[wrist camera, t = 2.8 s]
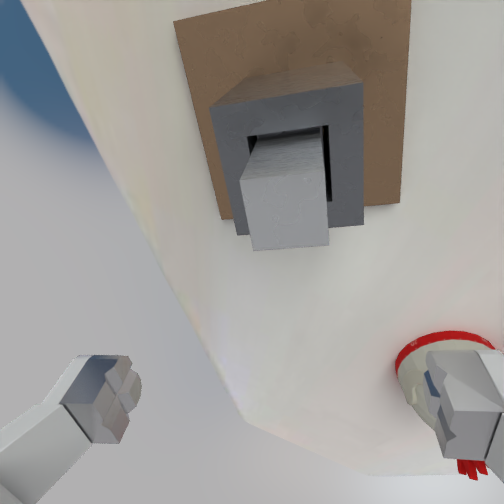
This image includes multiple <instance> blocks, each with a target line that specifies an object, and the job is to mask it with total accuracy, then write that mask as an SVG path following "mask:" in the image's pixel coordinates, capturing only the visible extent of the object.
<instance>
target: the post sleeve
mask: <svg viewBox="0 0 504 504" xmlns="http://www.w3.org/2000/svg"><path fill="white" fill-rule="evenodd" d="M410 17H411V0H267V1H262V2H258V3H253V4H249V5H244V6H240V7H235V8H231V9H227V10H222V11H218V12H213V13H209V14H204V15H200V16H195V17H191V18H186V19H182V20H177V21H173V23H174V27H175V31H176V35H177V39H178V43H179V48H180V52H181V56H182V60H183V64H184V68H185V72H186V76H187V80H188V84H189V88H190V92H191V97H192V101H193V105H194V109H195V113H196V117H197V121H198V125H199V129H200V133H201V137H202V142H203V146H204V150H205V154H206V158H207V162H208V166H209V170H210V174H211V178H212V182H213V186H214V191H215V195H216V199H217V203H218V207H219V211H220V215H221V219H222V220H224V219H234V223H235V227H236V232H237V235H249V234H250V231H249V226H248V221H247V216H246V211H245V206H244V201H243V196H242V191H241V186H240V181H239V180H240V178H241V176H242V174H243V171H244V169H245V167H246V165H247V162H248V160H249V158H250V156H251V153H252V151H253V149H254V147H255V144H256V142H257V135H261V134H268V133H275V132H282V131H289V130H296V129H303V128H310V127H316V126H322V135H323V150H324V166H325V182H326V201H327V217H328V228H333V227H345V226H357V225H364V206H373V205H383V204H394V203H400V189H401V171H402V154H403V137H404V120H405V103H406V85H407V68H408V51H409V34H410Z"/></svg>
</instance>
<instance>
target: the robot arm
mask: <svg viewBox="0 0 504 504" xmlns="http://www.w3.org/2000/svg"><path fill="white" fill-rule="evenodd" d="M425 362H426V364H427V367H428V370H427V371H426V372H425V373H424V376H423V389H424V396H425V401H426V404H427V408H428V411H429V413H430V414H432V415H433V416H434V417H435V418H436V423H435V429H434V430H435V433H436V436H437V439H438V442H439V445H440V448H441V451H442V454H443V458H450V459H464V460H478V461H485V464H486V465H487V466H488V467H489V468H490V469H491V470H492V471H493V472H494V473H495V474H496V475H497V476H498V478H499V479H500V480H501V481H502V482H503V483H504V355H503V353H501V352H500V351H499V350H442V351H428V352H427V354H426V360H425ZM131 366H132V362H131V360H130V359H129V357H128V356H121V355H120V356H119V355H79V356H77V357H76V358H74V359H73V360H72V361H71V363H70V364H69V366H68V367H67V369H66V370H65V371H64V373H63V374H62V376H61V377H60V378H59V380H58V381H57V383H56V384H55V386H54V387H53V388H52V390H51V391H50V392H49V394H48V395H47V397H46V398H45V399H44V401H43V402H42V404H36V405H35V406H33V407H32V408H30V409H29V410H28V411H26V412H25V413H23V414H22V415H21V416H19V417H18V418H16V419H15V420H14V421H12V422H11V423H9V424H8V425H7V426H5V427H4V428H2V429H1V430H0V504H36V502H37V501H39V500H40V498H42V496H43V495H44V494H45V493H46V492H47V491H48V490H49V489H50V488H51V487H52V486H53V485H54V484H55V483H56V482H57V481H58V480H59V479H60V478H61V477H62V476H63V475H64V474H65V473H66V472H67V471H68V470H69V469H70V467H72V466H73V464H74V463H75V462H76V461H77V460H78V459H79V458H80V457H81V456H82V455H83V454H84V453H85V452H86V451H87V450H88V449H89V448H90V447H91V446H92V443H109V444H119V443H120V441H121V439H122V437H123V434H124V432H125V430H126V428H127V426H128V424H129V421H130V420H129V415H128V413H129V412H130V411H131V410H133V409H134V408H135V407H136V406H137V403H138V401H139V399H140V395H141V387H142V385H141V379H140V377H139V375H138V373H136V372H135V371H133V370H132V369H130V368H131Z"/></svg>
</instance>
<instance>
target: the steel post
mask: <svg viewBox="0 0 504 504" xmlns="http://www.w3.org/2000/svg"><path fill="white" fill-rule="evenodd" d="M239 181H240V186H241V191H242V196H243V201H244V206H245V211H246V216H247V221H248V226H249V231H250V236H251V241H252V246H253V251H258V250H271V249H285V248H299V247H312V246H326V245H329V233H328V217H327V201H326V182H325V166H324V150H323V135H322V126H316V127H310V128H303V129H296V130H289V131H282V132H275V133H268V134H261V135H257V142H256V144H255V147H254V149H253V151H252V153H251V156H250V158H249V160H248V162H247V165H246V167H245V169H244V171H243V174H242V176H241V178H240V180H239Z"/></svg>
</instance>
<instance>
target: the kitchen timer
mask: <svg viewBox="0 0 504 504" xmlns="http://www.w3.org/2000/svg"><path fill="white" fill-rule="evenodd" d="M442 350H496V349H495V348H494V347H493V346H492V345H491V343H490V342H489V341H487V340H486V339H484V338H482V337H480V336H478V335H475V334H471V333H468V332H463V331H444V332H436V333H431V334H428V335H425V336H422V337H419V338H418V339H416V340H414V341H412V342H411V343H409V344H407V346H406V347H405V348H404V349H403V350H402V351H401V352H400V353H399V355H398V357H397V359H396V362H395V370H396V374H397V378H398V381H399V383H400V385H401V387H402V390H403V392H404V394H405V397H406V400H407V403H408V404H409V405H412V407H413V408H414V410H415V411H416V412H417V414H418V415H419V416H420V417H421V419H422V420H423V421H424V422H425V423H426V424H428V425H429V426H430V427H431V428H432V429H433V430H434V429H435V423H436V418H435V417H434V416H433V415H432V414H430V413H429V411H428V408H427V404H426V401H425V396H424V389H423V376H424V373H425V372H426V371H427V370H428V367H427V364H426V362H425V360H426V354H427V352H428V351H442ZM434 431H435V430H434ZM485 465H486V464H485V461H478V460H464V459H457V466H458V472H459V473H460V474H464V475H466V474H468V476H469V478H470V479H473V480H478V478H477V472H476V468H477V470H478V471H479V473H481V474H485V475H488V473H487V469H486V466H487V465H486V466H485ZM487 467H488V466H487ZM488 468H489V467H488Z"/></svg>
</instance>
